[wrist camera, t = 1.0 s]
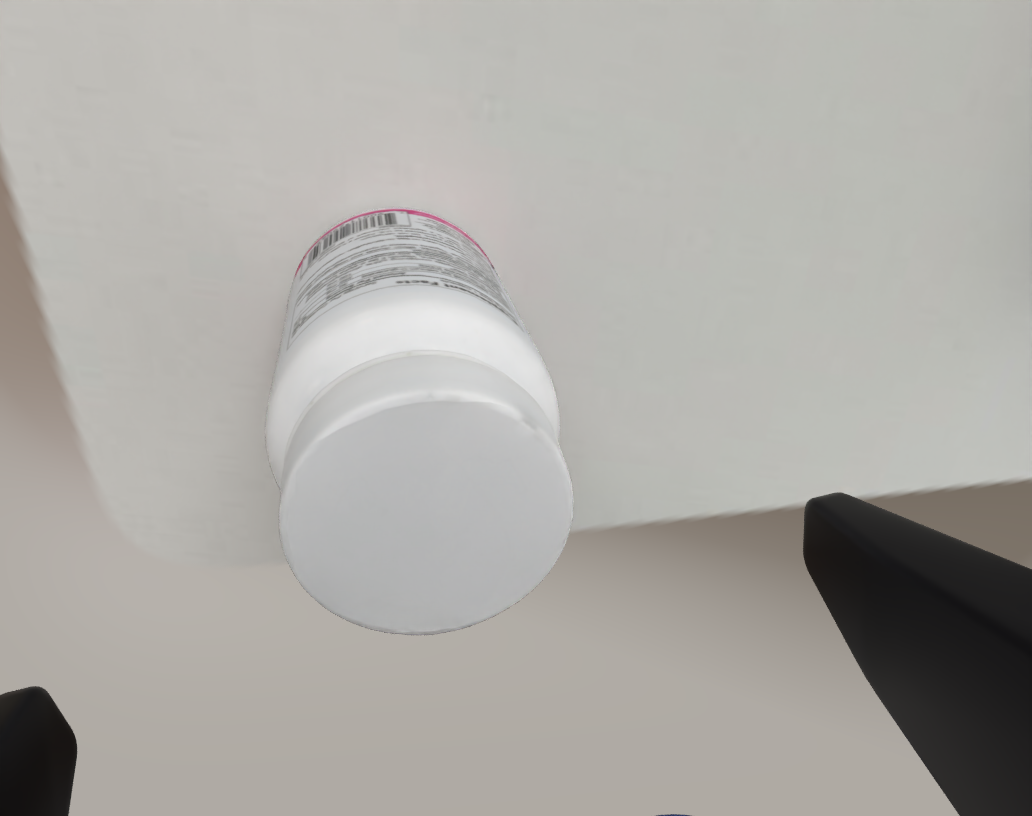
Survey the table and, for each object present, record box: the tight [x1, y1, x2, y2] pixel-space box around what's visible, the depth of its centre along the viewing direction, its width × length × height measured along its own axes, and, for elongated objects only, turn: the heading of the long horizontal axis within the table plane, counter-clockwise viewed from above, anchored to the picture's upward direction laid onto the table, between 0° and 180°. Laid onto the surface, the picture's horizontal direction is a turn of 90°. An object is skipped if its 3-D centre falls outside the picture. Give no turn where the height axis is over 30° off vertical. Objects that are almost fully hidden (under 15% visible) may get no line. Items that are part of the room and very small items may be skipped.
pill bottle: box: [265, 207, 574, 635], centre depth 14 cm, size 5×5×8 cm
